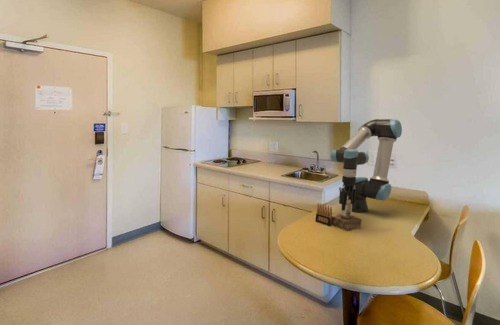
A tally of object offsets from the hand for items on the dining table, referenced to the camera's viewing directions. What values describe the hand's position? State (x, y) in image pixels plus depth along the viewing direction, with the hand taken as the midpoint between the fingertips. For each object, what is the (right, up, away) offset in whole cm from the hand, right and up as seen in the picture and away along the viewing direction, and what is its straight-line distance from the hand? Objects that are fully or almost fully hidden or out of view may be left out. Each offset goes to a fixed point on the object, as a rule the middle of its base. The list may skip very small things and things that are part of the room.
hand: (346, 214), depth 168 cm
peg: (0, -3, 0) cm, 3 cm away
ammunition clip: (-13, -6, +4) cm, 15 cm away
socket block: (0, -7, +1) cm, 7 cm away
